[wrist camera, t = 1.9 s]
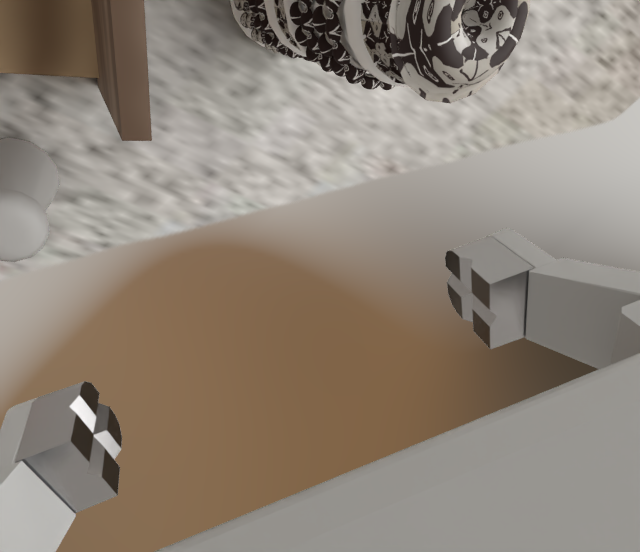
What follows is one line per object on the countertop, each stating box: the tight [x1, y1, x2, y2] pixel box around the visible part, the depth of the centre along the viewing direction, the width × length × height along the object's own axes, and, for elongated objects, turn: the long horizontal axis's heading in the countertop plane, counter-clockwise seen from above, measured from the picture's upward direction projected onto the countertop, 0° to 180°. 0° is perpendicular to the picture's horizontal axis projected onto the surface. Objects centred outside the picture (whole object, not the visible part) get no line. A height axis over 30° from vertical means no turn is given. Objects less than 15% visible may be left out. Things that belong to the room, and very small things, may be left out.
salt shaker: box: [0, 137, 60, 262], centre depth 33 cm, size 6×6×13 cm
